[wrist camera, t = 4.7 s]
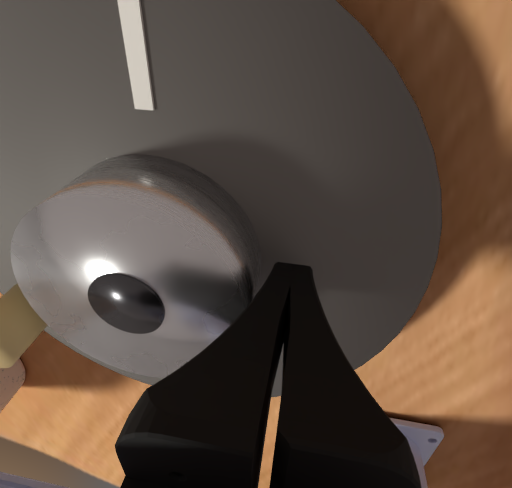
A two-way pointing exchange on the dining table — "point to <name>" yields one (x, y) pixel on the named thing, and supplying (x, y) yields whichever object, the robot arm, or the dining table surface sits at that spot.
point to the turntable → (230, 141)
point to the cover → (138, 262)
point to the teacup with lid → (10, 382)
